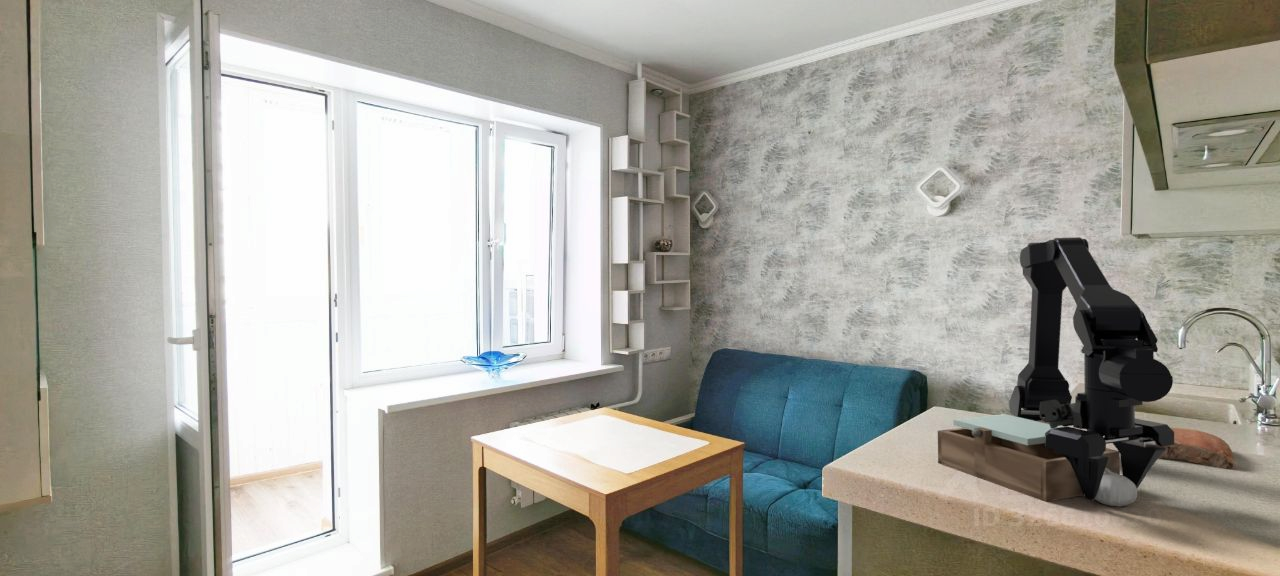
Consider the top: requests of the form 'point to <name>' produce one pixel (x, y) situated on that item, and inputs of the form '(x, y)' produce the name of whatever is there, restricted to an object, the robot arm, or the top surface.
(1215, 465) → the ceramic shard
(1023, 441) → the trapdoor plate
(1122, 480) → the garlic
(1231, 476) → the top surface
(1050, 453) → the frame
